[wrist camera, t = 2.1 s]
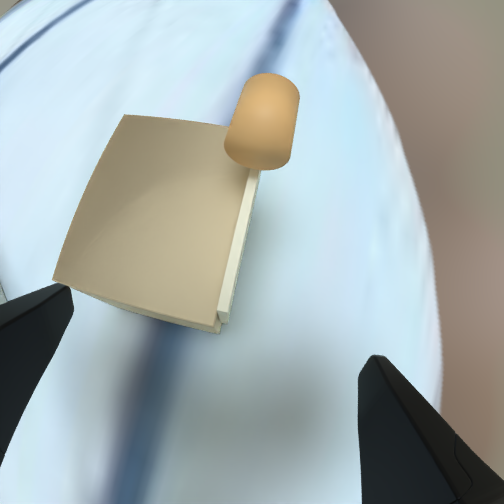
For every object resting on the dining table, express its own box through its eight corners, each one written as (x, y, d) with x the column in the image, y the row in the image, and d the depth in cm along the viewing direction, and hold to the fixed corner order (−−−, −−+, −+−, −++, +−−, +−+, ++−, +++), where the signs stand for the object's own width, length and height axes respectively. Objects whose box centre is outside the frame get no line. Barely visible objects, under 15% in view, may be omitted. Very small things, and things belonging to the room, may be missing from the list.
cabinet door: (203, 318, 16) (173, 284, 7) (237, 180, 19) (246, 63, 10) (245, 328, 16) (267, 305, 7) (273, 188, 19) (305, 75, 10)
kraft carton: (117, 308, 21) (51, 279, 12) (154, 191, 24) (124, 114, 15) (219, 335, 21) (213, 327, 12) (248, 209, 24) (260, 132, 15)
